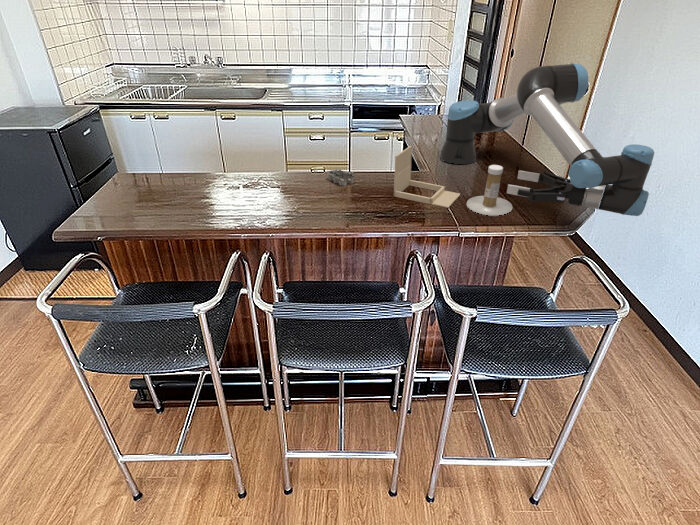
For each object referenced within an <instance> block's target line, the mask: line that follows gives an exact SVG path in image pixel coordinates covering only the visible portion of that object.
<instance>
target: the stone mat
mask: <svg viewBox="0 0 700 525" xmlns="http://www.w3.org/2000/svg"><path fill="white" fill-rule="evenodd" d="M483 201H484V195H477V196H473V197H470V198H469V199H468V200H467V201H466V207H467V209H468V208H469V209H468V210H469V211H471V210H472V211H471V212H473V213H475V212H476V213H475V214H477V213H479V214H478V215H481V214H482V216H486V215H488V216H487V217H500V216H499V215H502V216H505V215H504V214H506V215H508V214H510V213H511V212H512V211H513V204H512V203H511V202H510V201H508V200H506V199H504V198H502V197H499V196H498V197H497V201H496V206H494V207H487V206H485V205H483ZM509 212H510V213H509ZM507 213H508V214H507Z"/></svg>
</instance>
